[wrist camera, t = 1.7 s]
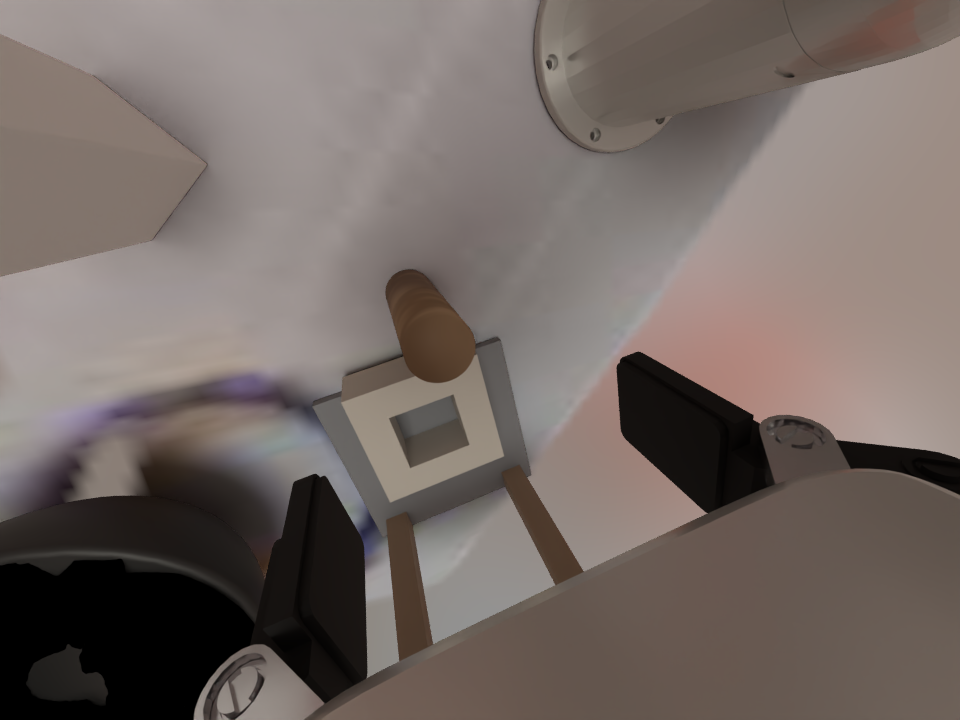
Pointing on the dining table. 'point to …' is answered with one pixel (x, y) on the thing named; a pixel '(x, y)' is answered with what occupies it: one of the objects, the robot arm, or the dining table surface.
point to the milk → (78, 164)
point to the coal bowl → (120, 608)
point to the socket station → (435, 464)
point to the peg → (428, 329)
